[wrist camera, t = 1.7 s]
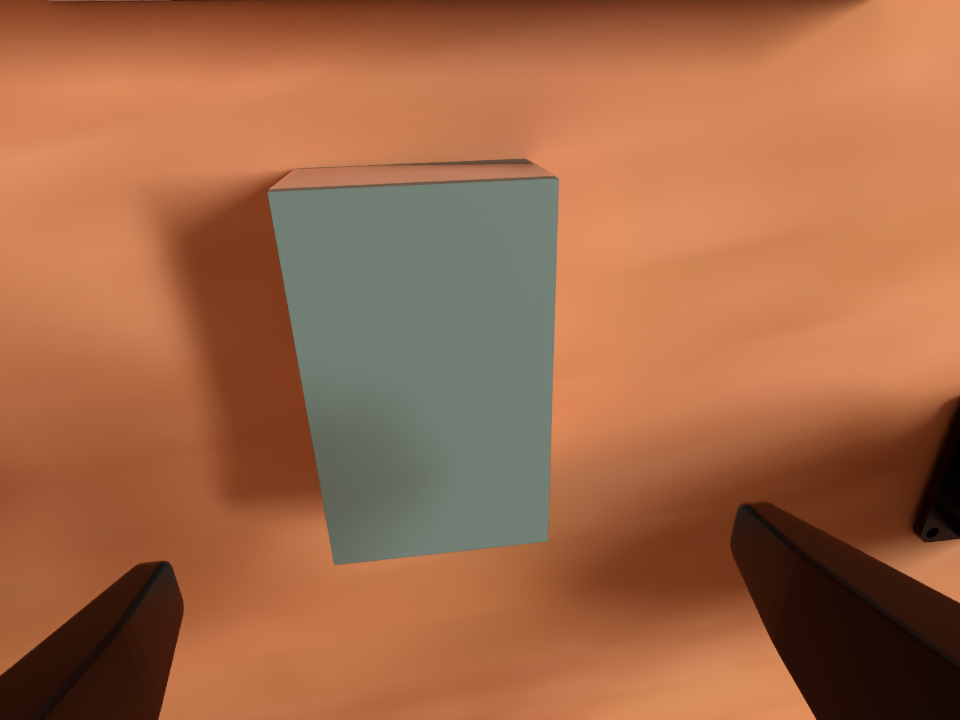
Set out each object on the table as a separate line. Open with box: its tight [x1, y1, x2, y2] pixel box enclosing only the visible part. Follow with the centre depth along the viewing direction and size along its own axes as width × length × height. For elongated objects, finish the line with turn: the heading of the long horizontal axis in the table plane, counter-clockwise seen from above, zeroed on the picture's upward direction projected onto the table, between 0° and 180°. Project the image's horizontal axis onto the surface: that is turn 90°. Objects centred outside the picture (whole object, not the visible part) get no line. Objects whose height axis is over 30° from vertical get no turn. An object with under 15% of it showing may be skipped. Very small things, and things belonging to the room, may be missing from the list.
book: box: [267, 159, 559, 565], centre depth 16 cm, size 10×6×4 cm, turn 2°
